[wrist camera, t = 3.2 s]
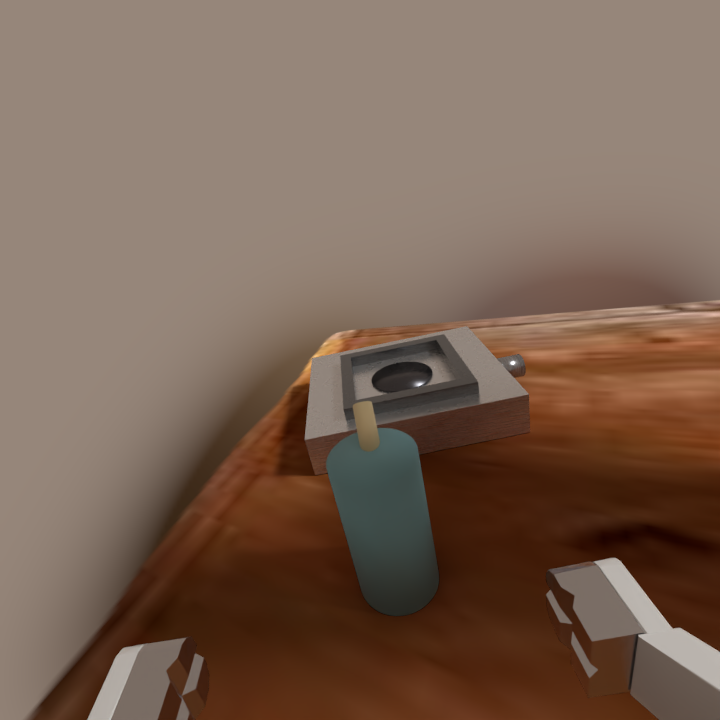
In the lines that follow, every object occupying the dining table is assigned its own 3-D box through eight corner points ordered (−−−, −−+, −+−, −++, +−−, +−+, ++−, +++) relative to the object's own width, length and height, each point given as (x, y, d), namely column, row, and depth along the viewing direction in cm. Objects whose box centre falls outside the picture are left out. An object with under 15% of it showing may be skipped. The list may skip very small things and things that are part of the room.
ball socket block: (492, 350, 55) (489, 312, 53) (562, 425, 38) (563, 375, 36) (319, 385, 55) (310, 349, 53) (315, 475, 39) (301, 428, 36)
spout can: (427, 530, 31) (402, 386, 26) (448, 607, 25) (421, 442, 20) (357, 544, 31) (318, 403, 26) (363, 623, 25) (315, 463, 20)
